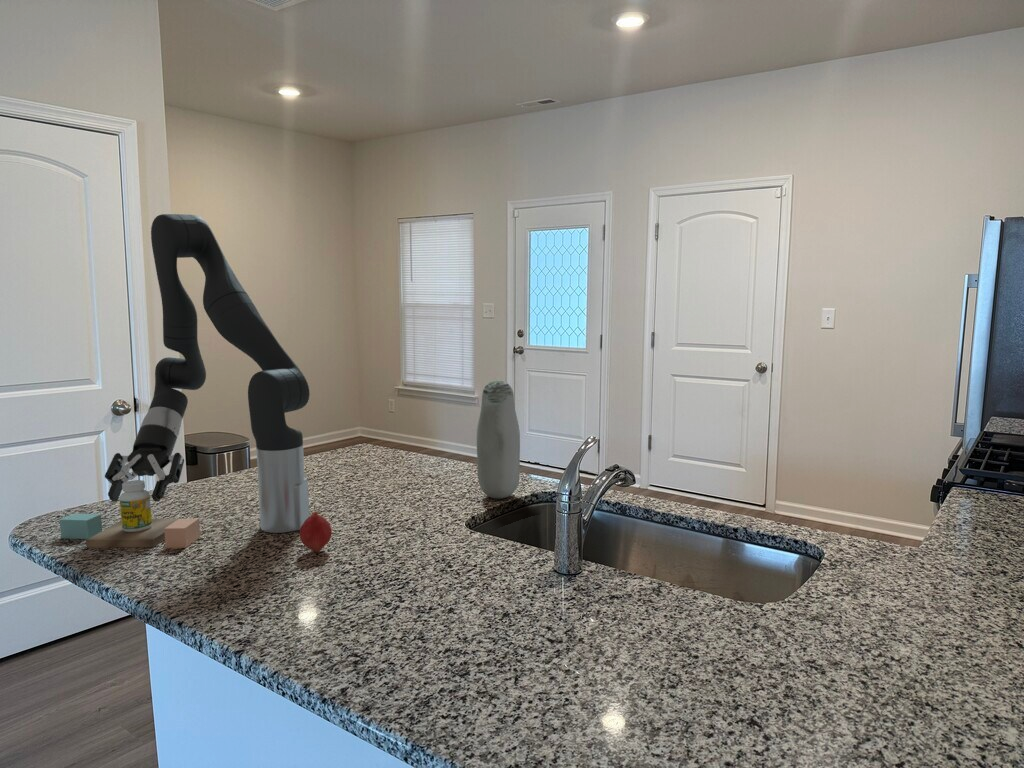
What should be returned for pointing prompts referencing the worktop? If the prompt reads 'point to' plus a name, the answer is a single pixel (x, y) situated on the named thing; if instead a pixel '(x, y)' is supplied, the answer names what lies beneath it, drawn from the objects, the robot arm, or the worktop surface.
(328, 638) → the worktop surface
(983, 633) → the worktop surface
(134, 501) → the supplement bottle
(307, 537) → the onion
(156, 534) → the walnut board
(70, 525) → the teal block
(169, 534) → the terracotta block
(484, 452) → the grey bottle
